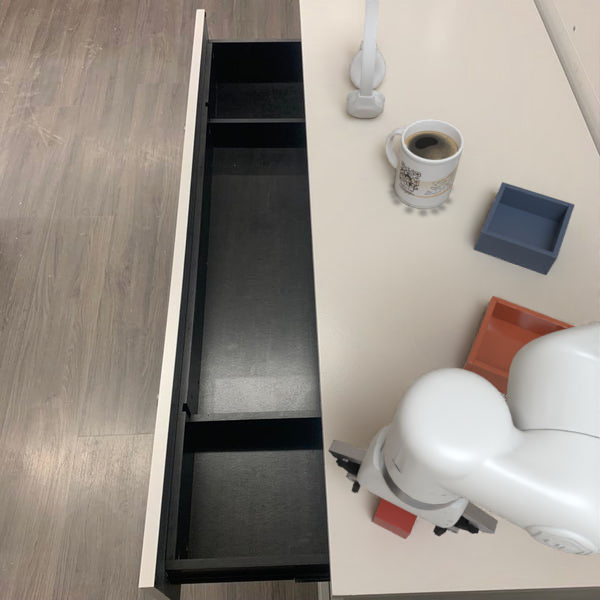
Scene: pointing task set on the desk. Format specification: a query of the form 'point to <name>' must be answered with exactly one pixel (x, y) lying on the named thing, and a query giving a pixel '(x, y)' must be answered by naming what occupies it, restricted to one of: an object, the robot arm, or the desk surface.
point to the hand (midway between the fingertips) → (399, 500)
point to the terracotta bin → (505, 339)
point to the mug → (425, 161)
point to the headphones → (367, 70)
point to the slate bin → (525, 228)
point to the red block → (394, 518)
